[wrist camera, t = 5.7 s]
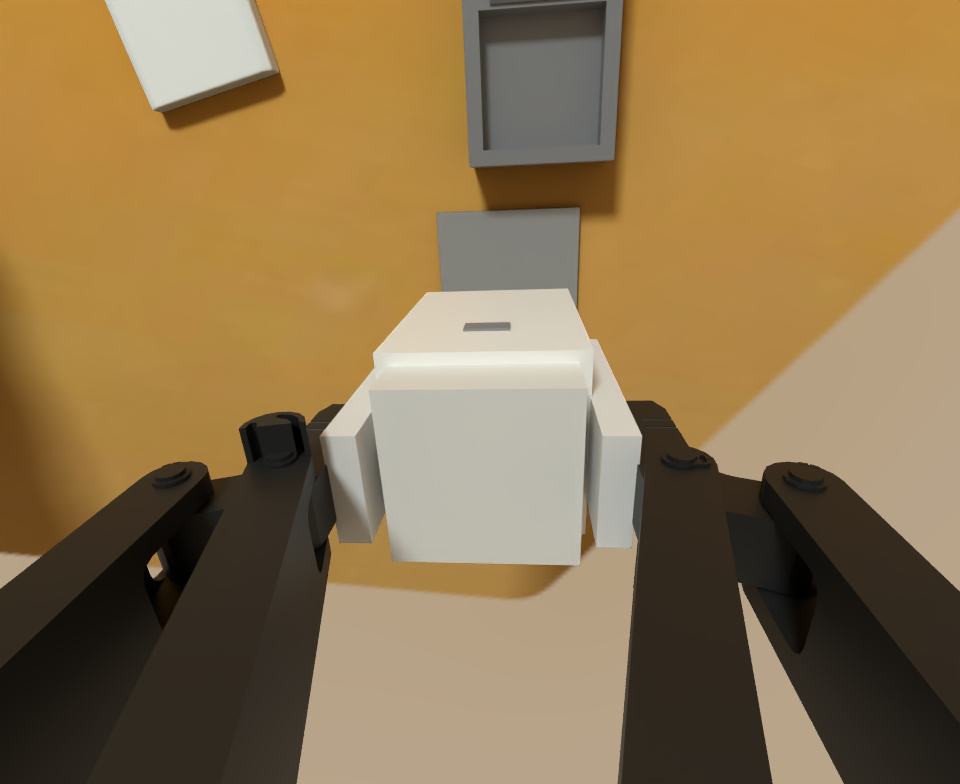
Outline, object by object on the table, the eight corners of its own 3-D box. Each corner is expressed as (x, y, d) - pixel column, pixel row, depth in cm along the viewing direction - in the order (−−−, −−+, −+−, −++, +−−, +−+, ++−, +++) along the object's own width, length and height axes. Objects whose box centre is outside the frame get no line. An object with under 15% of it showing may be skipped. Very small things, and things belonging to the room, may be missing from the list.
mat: (446, 346, 35) (446, 348, 35) (437, 212, 32) (436, 213, 32) (574, 344, 35) (575, 346, 34) (579, 207, 31) (580, 207, 31)
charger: (437, 417, 20) (381, 571, 12) (427, 290, 18) (351, 373, 10) (564, 417, 19) (592, 575, 12) (567, 286, 17) (604, 370, 10)
